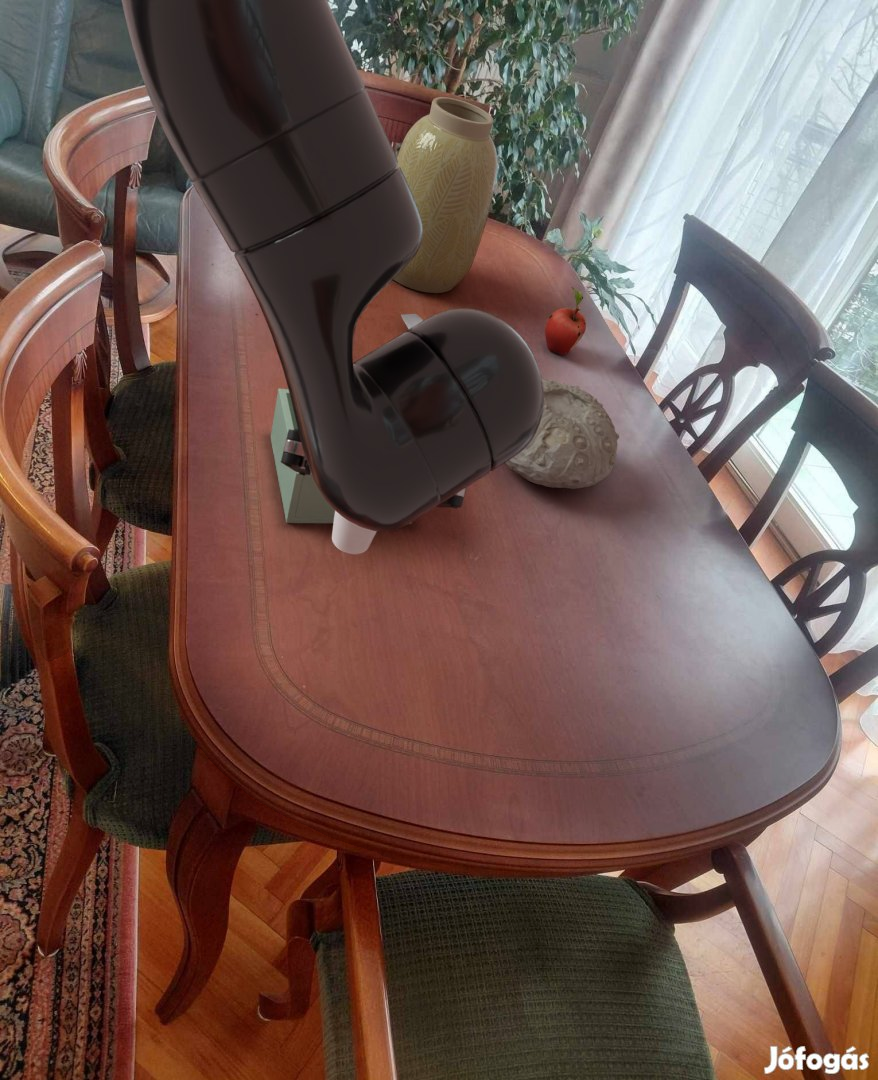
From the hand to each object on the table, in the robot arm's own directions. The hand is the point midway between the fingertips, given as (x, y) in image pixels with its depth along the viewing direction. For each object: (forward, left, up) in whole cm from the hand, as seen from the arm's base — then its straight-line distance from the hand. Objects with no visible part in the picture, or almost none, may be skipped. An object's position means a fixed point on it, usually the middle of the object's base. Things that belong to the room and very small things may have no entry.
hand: (367, 479), depth 66 cm
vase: (+18, +77, -18) cm, 81 cm away
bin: (+2, +20, -18) cm, 27 cm away
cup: (0, -2, -6) cm, 6 cm away
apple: (+40, +60, -18) cm, 74 cm away
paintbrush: (+18, +50, -18) cm, 56 cm away
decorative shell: (+30, +29, -18) cm, 45 cm away
